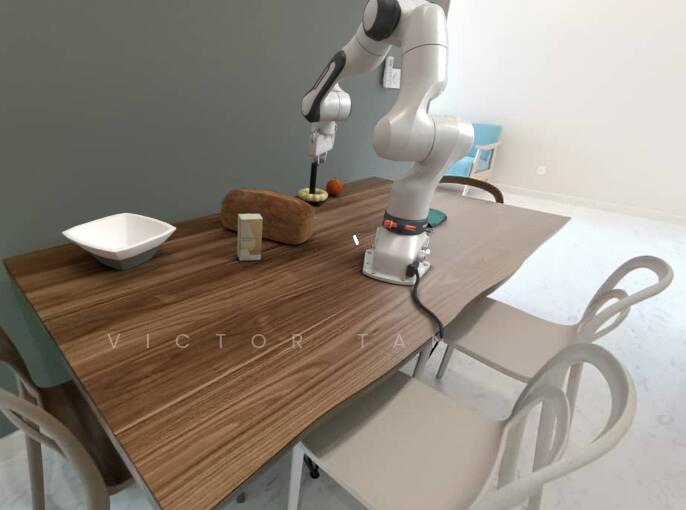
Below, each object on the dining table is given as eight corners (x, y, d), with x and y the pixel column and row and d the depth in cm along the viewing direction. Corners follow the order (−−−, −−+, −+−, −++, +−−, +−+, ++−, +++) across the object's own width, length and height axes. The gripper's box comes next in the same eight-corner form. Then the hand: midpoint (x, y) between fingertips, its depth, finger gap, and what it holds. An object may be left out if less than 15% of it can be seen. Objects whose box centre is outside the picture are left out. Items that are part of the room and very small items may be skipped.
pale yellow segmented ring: (322, 204, 154) (322, 197, 152) (293, 199, 157) (294, 192, 156) (330, 196, 163) (331, 190, 162) (303, 192, 167) (304, 185, 165)
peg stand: (317, 206, 155) (321, 166, 147) (296, 202, 158) (299, 163, 150) (325, 201, 163) (329, 162, 155) (304, 197, 165) (308, 159, 158)
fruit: (333, 192, 174) (335, 174, 170) (344, 196, 170) (347, 177, 166) (322, 194, 170) (323, 176, 166) (333, 199, 166) (335, 179, 162)
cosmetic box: (239, 261, 109) (239, 219, 102) (236, 255, 112) (236, 213, 106) (262, 260, 110) (263, 218, 104) (259, 253, 114) (259, 212, 108)
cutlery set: (451, 217, 153) (452, 211, 152) (432, 240, 131) (434, 233, 130) (401, 206, 162) (402, 201, 160) (375, 226, 139) (377, 220, 138)
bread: (302, 250, 118) (305, 206, 111) (216, 229, 128) (214, 188, 121) (317, 237, 127) (321, 196, 120) (236, 219, 138) (235, 180, 131)
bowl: (186, 255, 110) (184, 227, 106) (118, 287, 93) (112, 255, 88) (131, 237, 119) (127, 210, 115) (60, 263, 102) (52, 232, 97)
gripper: (321, 131, 141) (317, 170, 148) (338, 125, 157) (334, 161, 164) (305, 129, 143) (302, 168, 150) (323, 123, 159) (320, 159, 166)
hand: (319, 164), depth 157 cm, fingers open, 5 cm apart
